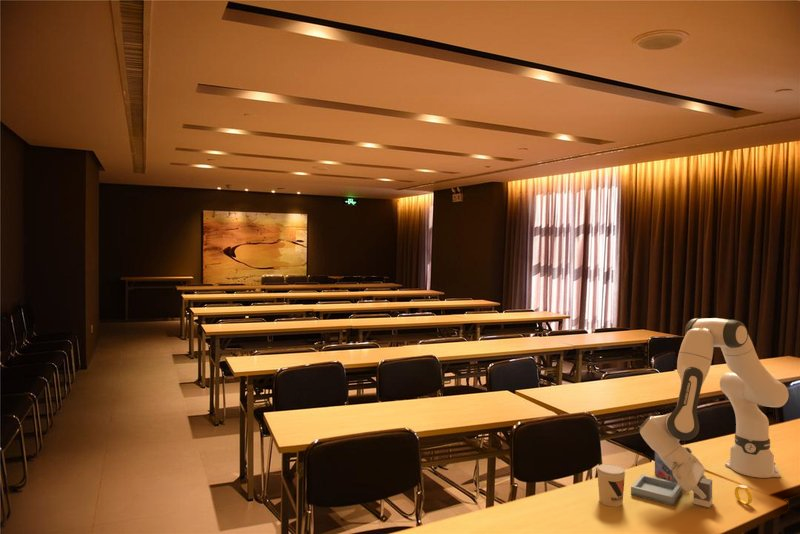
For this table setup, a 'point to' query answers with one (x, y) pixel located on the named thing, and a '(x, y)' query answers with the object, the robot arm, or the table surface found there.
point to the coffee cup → (611, 484)
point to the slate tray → (656, 489)
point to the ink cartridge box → (663, 469)
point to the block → (707, 488)
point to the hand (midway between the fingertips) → (707, 492)
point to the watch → (747, 493)
